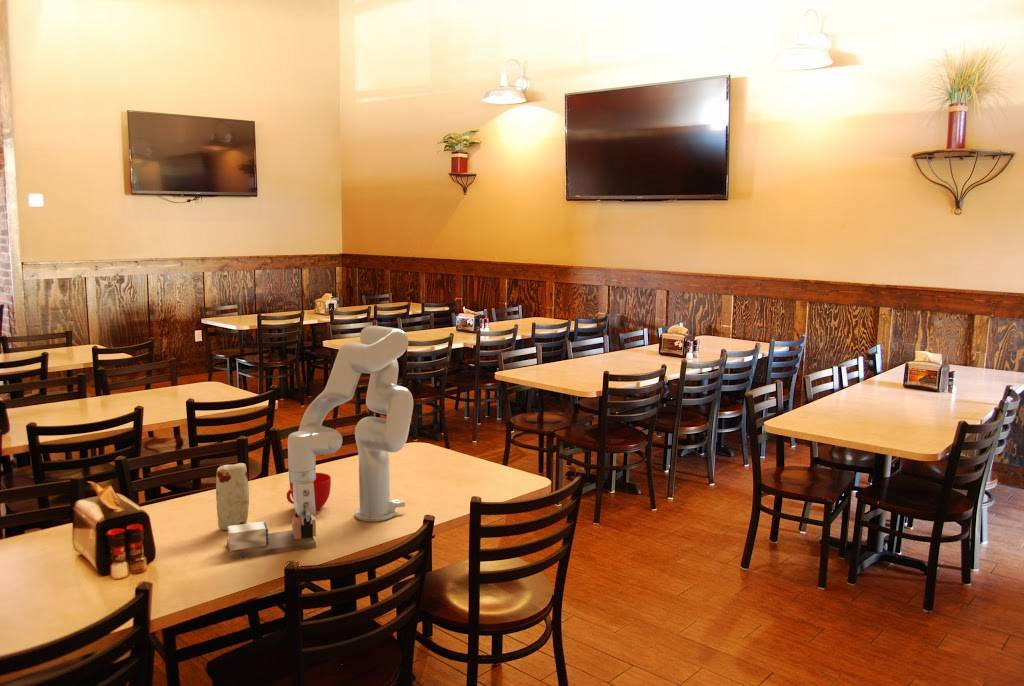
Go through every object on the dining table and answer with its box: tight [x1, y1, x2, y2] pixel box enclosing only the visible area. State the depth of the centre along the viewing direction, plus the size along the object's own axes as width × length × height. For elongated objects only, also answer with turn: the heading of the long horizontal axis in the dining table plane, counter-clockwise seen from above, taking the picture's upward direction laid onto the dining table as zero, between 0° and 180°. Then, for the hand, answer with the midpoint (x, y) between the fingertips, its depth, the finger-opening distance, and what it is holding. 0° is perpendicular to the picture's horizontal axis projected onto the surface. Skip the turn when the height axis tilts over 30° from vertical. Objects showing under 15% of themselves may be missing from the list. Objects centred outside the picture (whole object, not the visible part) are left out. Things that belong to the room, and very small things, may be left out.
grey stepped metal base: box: [226, 521, 317, 561], centre depth 232 cm, size 23×12×6 cm, turn 114°
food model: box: [215, 462, 250, 531], centre depth 244 cm, size 10×7×20 cm
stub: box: [291, 514, 317, 539], centre depth 235 cm, size 6×4×5 cm, turn 114°
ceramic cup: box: [286, 472, 332, 512], centre depth 261 cm, size 13×17×10 cm
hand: (304, 531), depth 235 cm, fingers open, 9 cm apart
